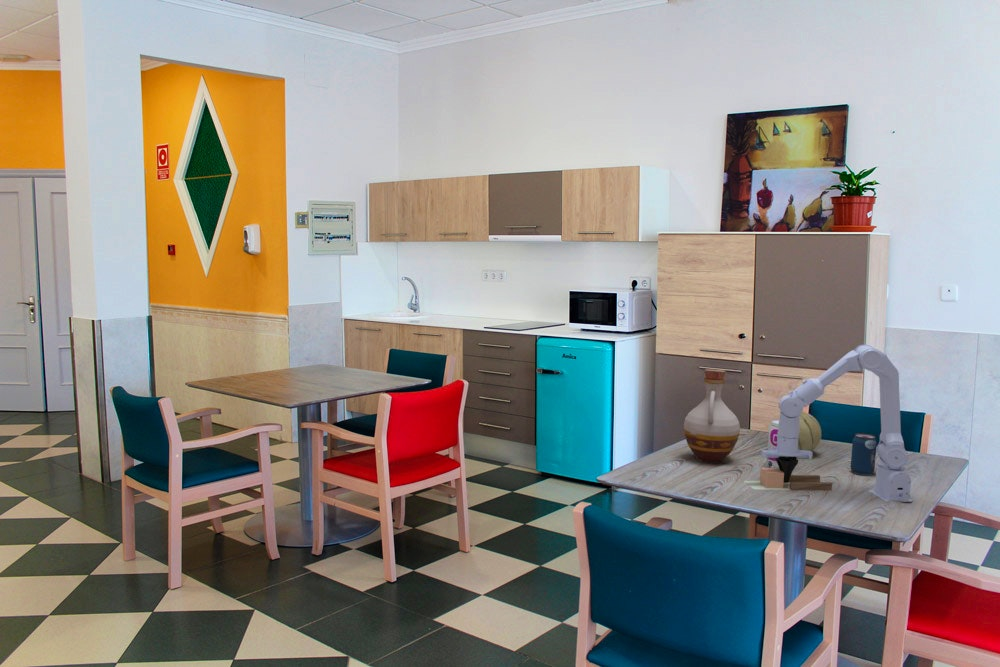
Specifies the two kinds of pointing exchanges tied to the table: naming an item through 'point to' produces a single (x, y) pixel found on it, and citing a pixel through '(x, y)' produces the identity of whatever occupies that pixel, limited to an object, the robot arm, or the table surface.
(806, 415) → the cantaloupe
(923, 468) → the table surface
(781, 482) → the block
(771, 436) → the supplement can
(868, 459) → the soda can
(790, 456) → the robot arm
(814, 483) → the chute
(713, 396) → the jug
